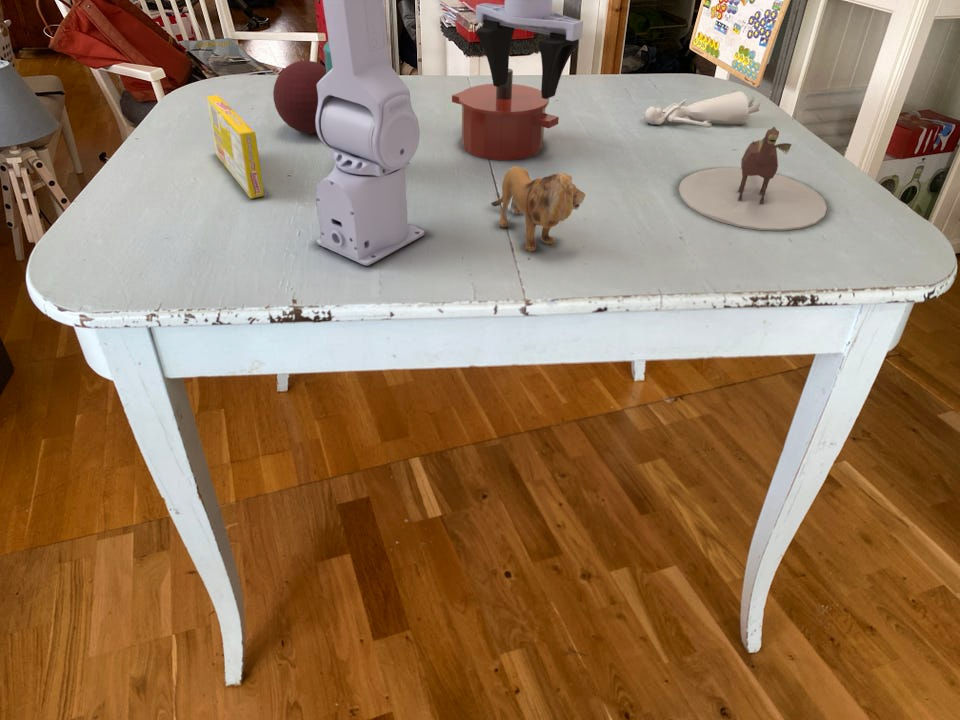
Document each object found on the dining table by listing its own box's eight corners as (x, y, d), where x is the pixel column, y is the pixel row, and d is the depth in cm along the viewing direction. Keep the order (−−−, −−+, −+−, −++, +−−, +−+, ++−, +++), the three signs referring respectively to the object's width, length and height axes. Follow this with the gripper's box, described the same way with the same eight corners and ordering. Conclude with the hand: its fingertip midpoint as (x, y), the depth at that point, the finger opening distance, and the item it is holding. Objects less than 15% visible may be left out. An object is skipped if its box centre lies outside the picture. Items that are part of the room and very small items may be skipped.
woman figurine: (775, 103, 105) (658, 114, 104) (769, 132, 108) (655, 144, 107) (743, 80, 115) (634, 90, 113) (738, 107, 117) (632, 118, 116)
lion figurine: (585, 253, 78) (594, 176, 72) (547, 266, 75) (553, 187, 70) (508, 203, 87) (511, 132, 82) (472, 214, 85) (472, 140, 80)
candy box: (267, 196, 88) (255, 131, 83) (250, 200, 87) (237, 134, 82) (231, 153, 99) (219, 92, 94) (216, 156, 98) (202, 95, 93)
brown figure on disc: (832, 240, 81) (865, 148, 74) (673, 217, 85) (690, 128, 78) (820, 179, 95) (847, 97, 88) (683, 162, 99) (699, 82, 92)
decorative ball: (350, 120, 110) (343, 52, 104) (342, 144, 102) (334, 72, 96) (286, 120, 110) (275, 52, 104) (273, 143, 102) (260, 71, 96)
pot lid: (513, 127, 92) (515, 90, 89) (440, 106, 98) (439, 71, 96) (565, 103, 100) (568, 68, 97) (494, 85, 106) (495, 52, 103)
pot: (527, 172, 95) (529, 125, 91) (432, 142, 103) (430, 97, 99) (572, 147, 102) (577, 103, 99) (480, 121, 111) (481, 79, 107)
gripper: (601, -25, 82) (588, 94, 90) (500, -40, 89) (497, 73, 97) (568, -17, 77) (558, 108, 86) (465, -33, 84) (465, 84, 93)
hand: (523, 90), depth 91 cm, fingers open, 7 cm apart
